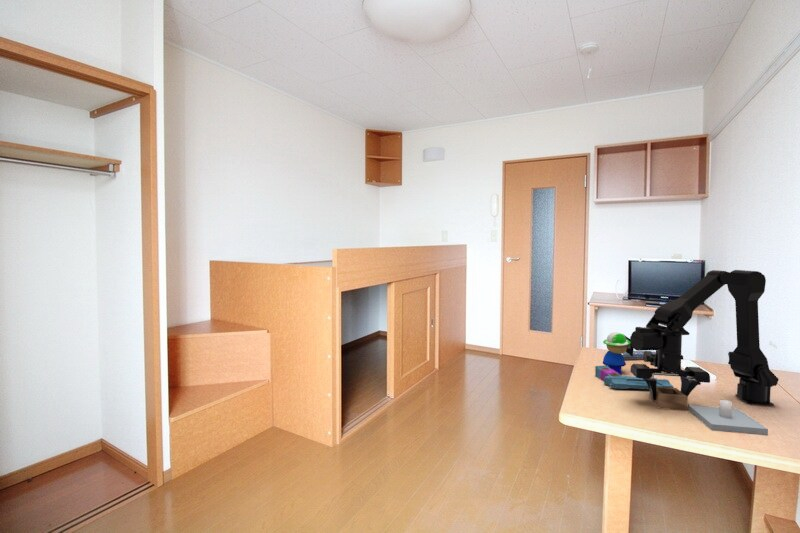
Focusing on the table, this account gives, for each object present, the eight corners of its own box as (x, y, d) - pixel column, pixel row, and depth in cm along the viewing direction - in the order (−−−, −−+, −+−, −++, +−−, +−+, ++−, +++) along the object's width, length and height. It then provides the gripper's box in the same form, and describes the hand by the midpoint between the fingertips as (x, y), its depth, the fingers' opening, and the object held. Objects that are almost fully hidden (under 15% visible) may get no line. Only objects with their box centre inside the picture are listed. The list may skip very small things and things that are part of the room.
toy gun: (653, 378, 135) (675, 396, 120) (593, 375, 138) (608, 392, 124) (654, 367, 134) (676, 383, 120) (594, 364, 138) (608, 380, 123)
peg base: (737, 413, 106) (738, 394, 106) (767, 434, 94) (768, 413, 94) (688, 409, 109) (688, 391, 108) (711, 429, 97) (712, 409, 97)
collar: (675, 400, 115) (676, 387, 115) (687, 410, 108) (687, 396, 108) (649, 398, 117) (650, 386, 117) (659, 408, 110) (659, 394, 110)
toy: (635, 376, 137) (636, 335, 136) (610, 376, 137) (610, 335, 136) (621, 368, 146) (622, 329, 145) (597, 368, 146) (598, 329, 145)
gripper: (691, 343, 117) (690, 393, 118) (625, 341, 122) (624, 388, 123) (712, 354, 106) (710, 408, 107) (637, 350, 111) (636, 402, 112)
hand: (667, 400), depth 113 cm, fingers closed on collar, 7 cm apart
